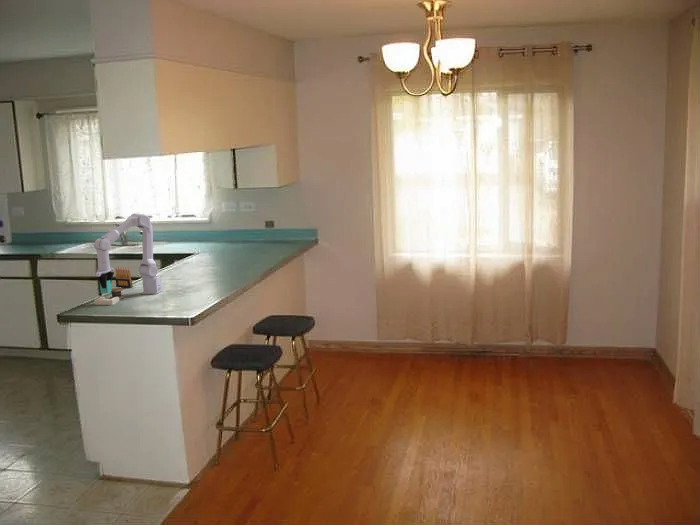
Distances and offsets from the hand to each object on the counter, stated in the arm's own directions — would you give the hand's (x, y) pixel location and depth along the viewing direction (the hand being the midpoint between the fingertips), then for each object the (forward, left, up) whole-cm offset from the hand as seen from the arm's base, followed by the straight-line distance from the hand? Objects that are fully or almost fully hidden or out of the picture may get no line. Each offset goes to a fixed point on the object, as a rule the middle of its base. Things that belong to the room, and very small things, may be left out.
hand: (106, 287), depth 362 cm
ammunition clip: (+9, -34, -9) cm, 36 cm away
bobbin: (0, -9, -8) cm, 12 cm away
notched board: (0, +1, -8) cm, 8 cm away
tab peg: (0, 0, -3) cm, 3 cm away
